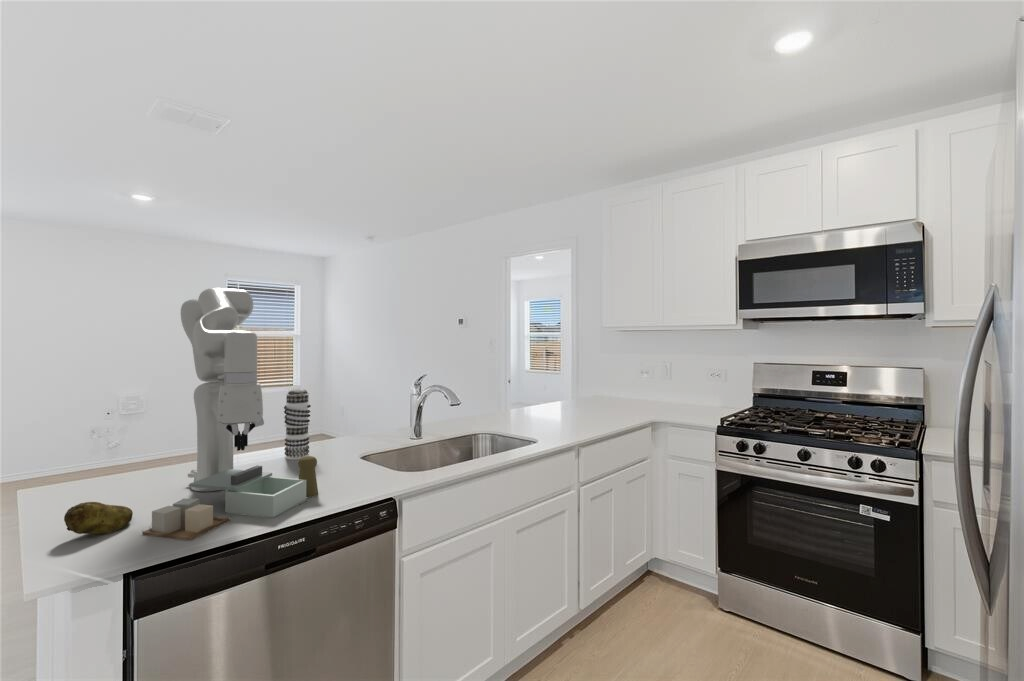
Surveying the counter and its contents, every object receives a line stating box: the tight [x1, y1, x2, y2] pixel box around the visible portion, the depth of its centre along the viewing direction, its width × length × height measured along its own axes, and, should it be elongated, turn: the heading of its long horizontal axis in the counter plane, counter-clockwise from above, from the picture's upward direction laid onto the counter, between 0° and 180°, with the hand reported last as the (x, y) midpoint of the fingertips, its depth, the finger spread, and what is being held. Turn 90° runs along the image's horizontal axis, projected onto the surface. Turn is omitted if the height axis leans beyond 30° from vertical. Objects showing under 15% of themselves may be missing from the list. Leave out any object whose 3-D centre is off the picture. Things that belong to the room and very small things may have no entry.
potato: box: [63, 501, 134, 536], centre depth 117 cm, size 8×13×8 cm, turn 138°
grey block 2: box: [172, 498, 200, 525], centre depth 124 cm, size 4×4×5 cm
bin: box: [224, 476, 307, 519], centre depth 135 cm, size 14×14×6 cm
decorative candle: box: [283, 388, 312, 460], centre depth 187 cm, size 9×9×25 cm
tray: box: [141, 515, 231, 542], centre depth 120 cm, size 13×12×1 cm
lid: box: [189, 464, 273, 491], centre depth 137 cm, size 14×14×3 cm
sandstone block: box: [185, 503, 214, 532], centre depth 120 cm, size 4×4×5 cm
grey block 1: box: [151, 505, 181, 533], centre depth 118 cm, size 4×4×5 cm
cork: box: [297, 455, 319, 498], centre depth 146 cm, size 6×6×11 cm
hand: (241, 449), depth 130 cm, fingers closed
